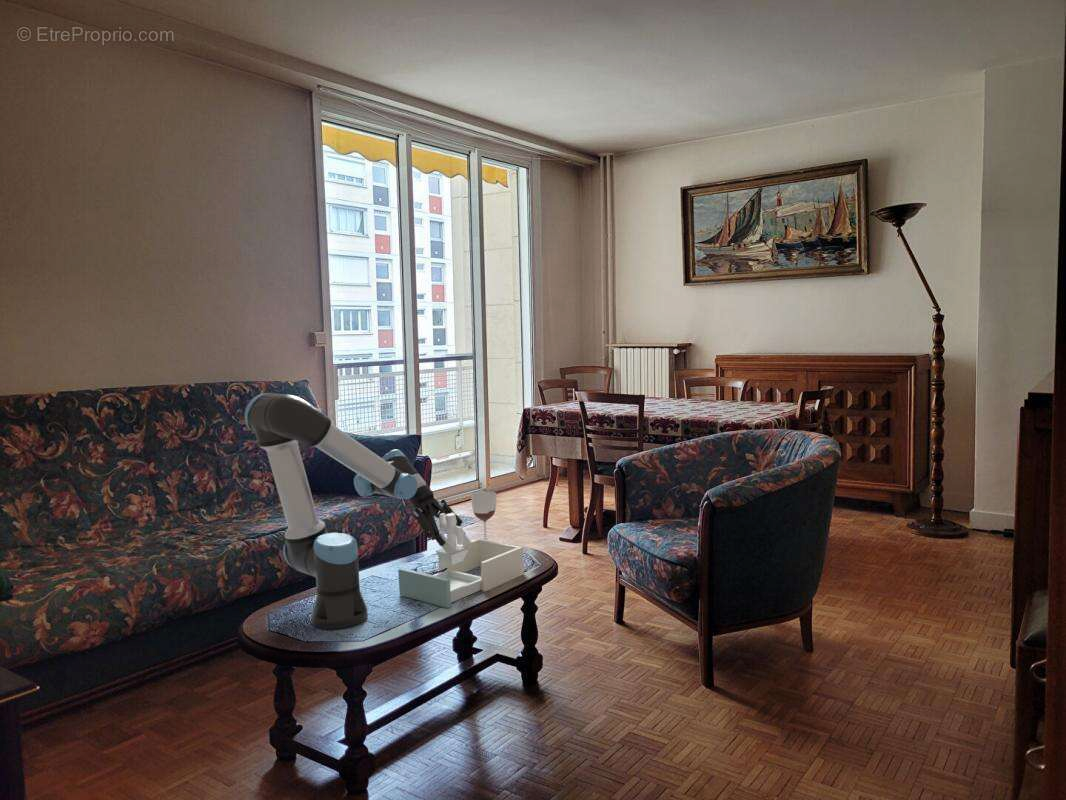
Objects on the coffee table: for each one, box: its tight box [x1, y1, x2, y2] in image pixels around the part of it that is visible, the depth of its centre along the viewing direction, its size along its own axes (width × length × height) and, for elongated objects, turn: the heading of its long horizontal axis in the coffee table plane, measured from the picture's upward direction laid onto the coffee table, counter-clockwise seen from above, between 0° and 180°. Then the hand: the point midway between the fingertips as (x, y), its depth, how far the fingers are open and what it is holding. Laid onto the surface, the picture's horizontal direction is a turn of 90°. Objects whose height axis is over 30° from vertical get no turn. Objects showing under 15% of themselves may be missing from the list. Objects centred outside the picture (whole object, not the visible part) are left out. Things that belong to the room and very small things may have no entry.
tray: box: [397, 567, 482, 609], centre depth 235 cm, size 19×20×8 cm
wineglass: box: [470, 490, 497, 541], centre depth 271 cm, size 9×10×22 cm
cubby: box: [437, 538, 525, 593], centre depth 248 cm, size 19×19×9 cm
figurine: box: [434, 512, 469, 565], centre depth 236 cm, size 7×9×15 cm
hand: (460, 548), depth 235 cm, fingers closed on figurine, 7 cm apart
